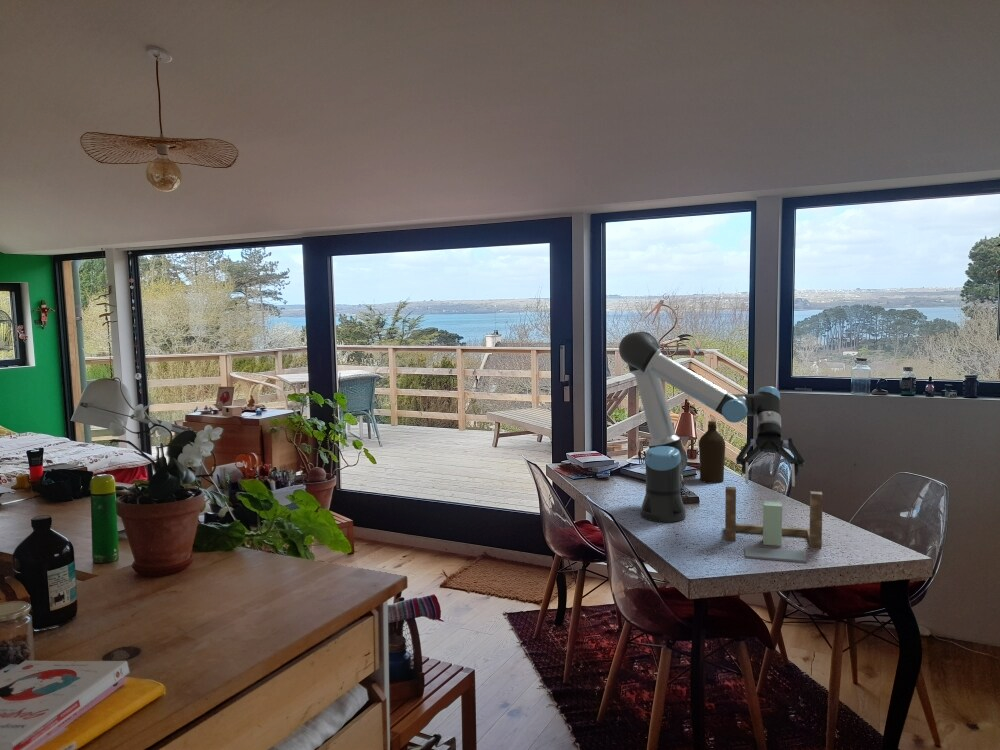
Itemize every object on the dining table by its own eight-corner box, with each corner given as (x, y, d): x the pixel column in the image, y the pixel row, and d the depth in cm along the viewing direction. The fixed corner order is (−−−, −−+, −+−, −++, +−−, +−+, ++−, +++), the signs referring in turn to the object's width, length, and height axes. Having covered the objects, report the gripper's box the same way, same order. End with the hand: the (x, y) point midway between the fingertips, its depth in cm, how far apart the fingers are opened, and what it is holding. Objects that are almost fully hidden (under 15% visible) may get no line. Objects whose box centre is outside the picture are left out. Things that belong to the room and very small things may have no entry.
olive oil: (728, 479, 288) (729, 420, 286) (719, 484, 280) (719, 424, 278) (704, 476, 295) (704, 418, 293) (694, 481, 287) (694, 422, 285)
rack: (725, 540, 211) (725, 489, 209) (725, 528, 222) (725, 480, 221) (821, 547, 202) (822, 494, 201) (816, 535, 214) (817, 484, 212)
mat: (745, 557, 195) (745, 555, 195) (744, 548, 203) (744, 546, 203) (806, 562, 190) (806, 560, 190) (803, 553, 198) (803, 551, 198)
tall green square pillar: (763, 544, 206) (764, 505, 205) (762, 539, 211) (763, 501, 210) (781, 545, 205) (782, 506, 204) (780, 540, 209) (780, 502, 208)
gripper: (729, 420, 230) (727, 474, 217) (810, 421, 221) (814, 478, 208) (730, 433, 235) (728, 487, 222) (809, 435, 226) (812, 491, 213)
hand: (769, 483), depth 215 cm, fingers open, 13 cm apart
